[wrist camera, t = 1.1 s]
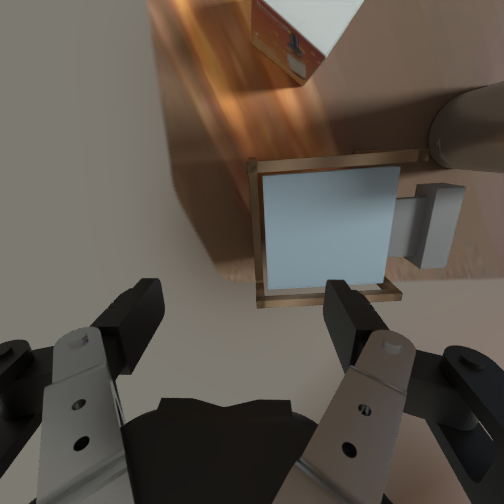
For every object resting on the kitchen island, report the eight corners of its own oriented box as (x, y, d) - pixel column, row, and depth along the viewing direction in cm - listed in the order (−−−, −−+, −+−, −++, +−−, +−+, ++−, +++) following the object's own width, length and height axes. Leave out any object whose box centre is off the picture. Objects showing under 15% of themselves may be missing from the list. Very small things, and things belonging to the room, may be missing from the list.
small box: (249, 43, 29) (248, -12, 19) (278, -9, 27) (292, -98, 17) (302, 88, 31) (326, 59, 21) (332, 42, 29) (373, -13, 19)
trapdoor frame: (361, 150, 33) (430, 149, 20) (351, 250, 39) (401, 300, 26) (248, 158, 34) (246, 162, 21) (255, 256, 39) (256, 308, 26)
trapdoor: (446, 161, 24) (472, 162, 21) (422, 271, 28) (441, 284, 26) (261, 174, 24) (263, 177, 22) (267, 280, 29) (268, 294, 26)
